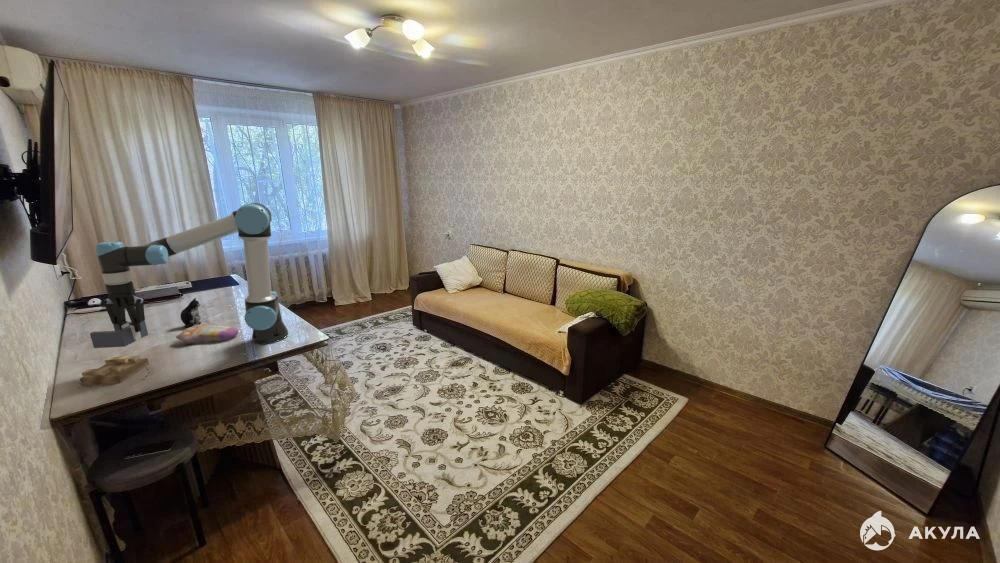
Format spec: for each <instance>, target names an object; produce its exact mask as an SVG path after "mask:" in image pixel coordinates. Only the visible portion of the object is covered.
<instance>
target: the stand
mask: <svg viewBox="0 0 1000 563" xmlns="http://www.w3.org/2000/svg"><path fill="white" fill-rule="evenodd" d="M104 362H105V364H104V365H102V366H100V367H99V368H88V369H87V370H83V371H82V372H81V376H82V377H80V378H79V382H80V385H81V386H82V387H87V386H99V385H101V386H102V385H110V384H122V383H123V382H124V381H126V380H128V379H129V378H131V377H132V376H134V375H135V374H137V373H138V372H140V371H141V370H143V369H145V368H146V367H149V365H150V362H149V358H148V357H144V358H143V357H142V358H140V356H139V355H137V356H130V355H125V356H124V355H123V356H122V355H121V356H110V357H108V358H107V359H105V360H104Z"/></svg>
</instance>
